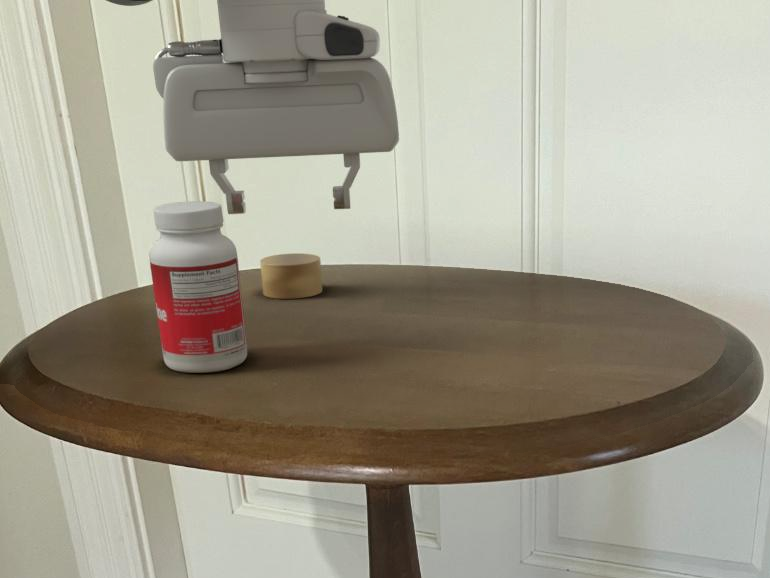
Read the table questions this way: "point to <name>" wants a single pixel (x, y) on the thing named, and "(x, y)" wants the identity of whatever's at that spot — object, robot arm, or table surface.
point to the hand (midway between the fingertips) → (289, 210)
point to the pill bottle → (197, 289)
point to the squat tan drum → (291, 276)
